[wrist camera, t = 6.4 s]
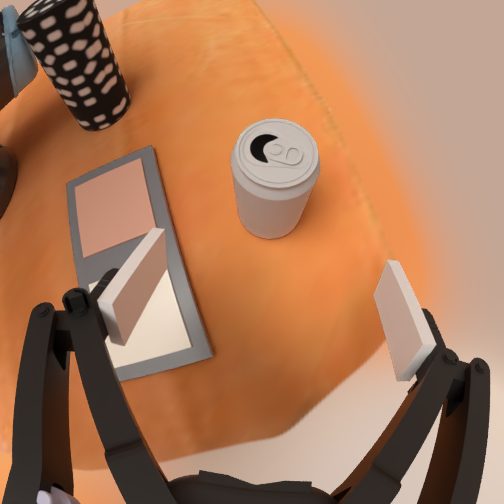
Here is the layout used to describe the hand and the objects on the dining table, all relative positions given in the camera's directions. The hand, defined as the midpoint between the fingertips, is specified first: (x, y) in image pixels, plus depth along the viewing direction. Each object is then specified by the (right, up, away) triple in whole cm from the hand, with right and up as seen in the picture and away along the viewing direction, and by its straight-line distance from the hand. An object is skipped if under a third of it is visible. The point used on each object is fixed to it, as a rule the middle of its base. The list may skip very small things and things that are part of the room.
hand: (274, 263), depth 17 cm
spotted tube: (-22, +21, +18) cm, 35 cm away
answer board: (-15, 0, +13) cm, 19 cm away
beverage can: (0, +5, +14) cm, 15 cm away
